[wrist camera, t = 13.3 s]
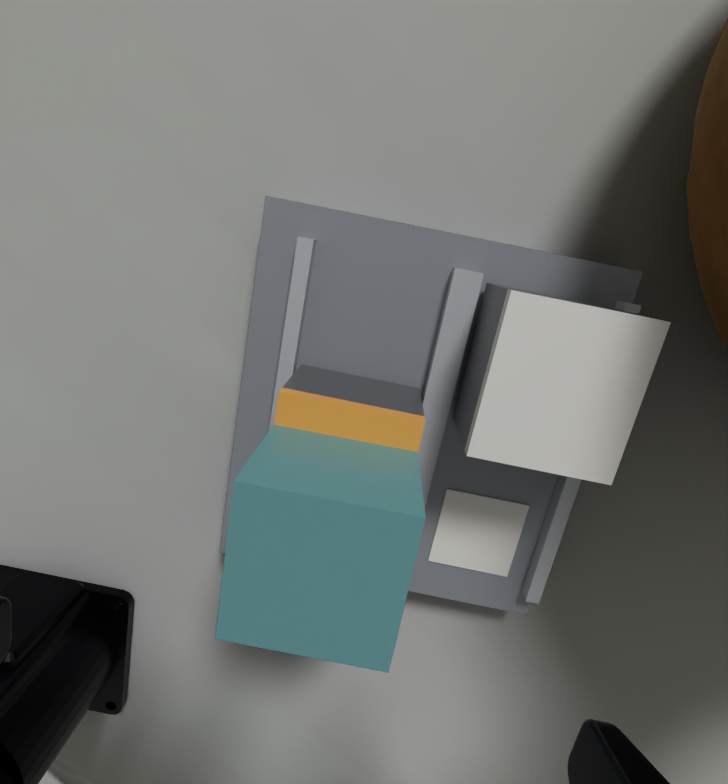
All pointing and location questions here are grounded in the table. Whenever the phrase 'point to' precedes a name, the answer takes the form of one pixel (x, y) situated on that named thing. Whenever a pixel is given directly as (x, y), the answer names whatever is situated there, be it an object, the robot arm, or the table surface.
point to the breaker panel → (415, 374)
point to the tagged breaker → (352, 408)
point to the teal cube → (321, 547)
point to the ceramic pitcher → (711, 188)
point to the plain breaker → (554, 382)
